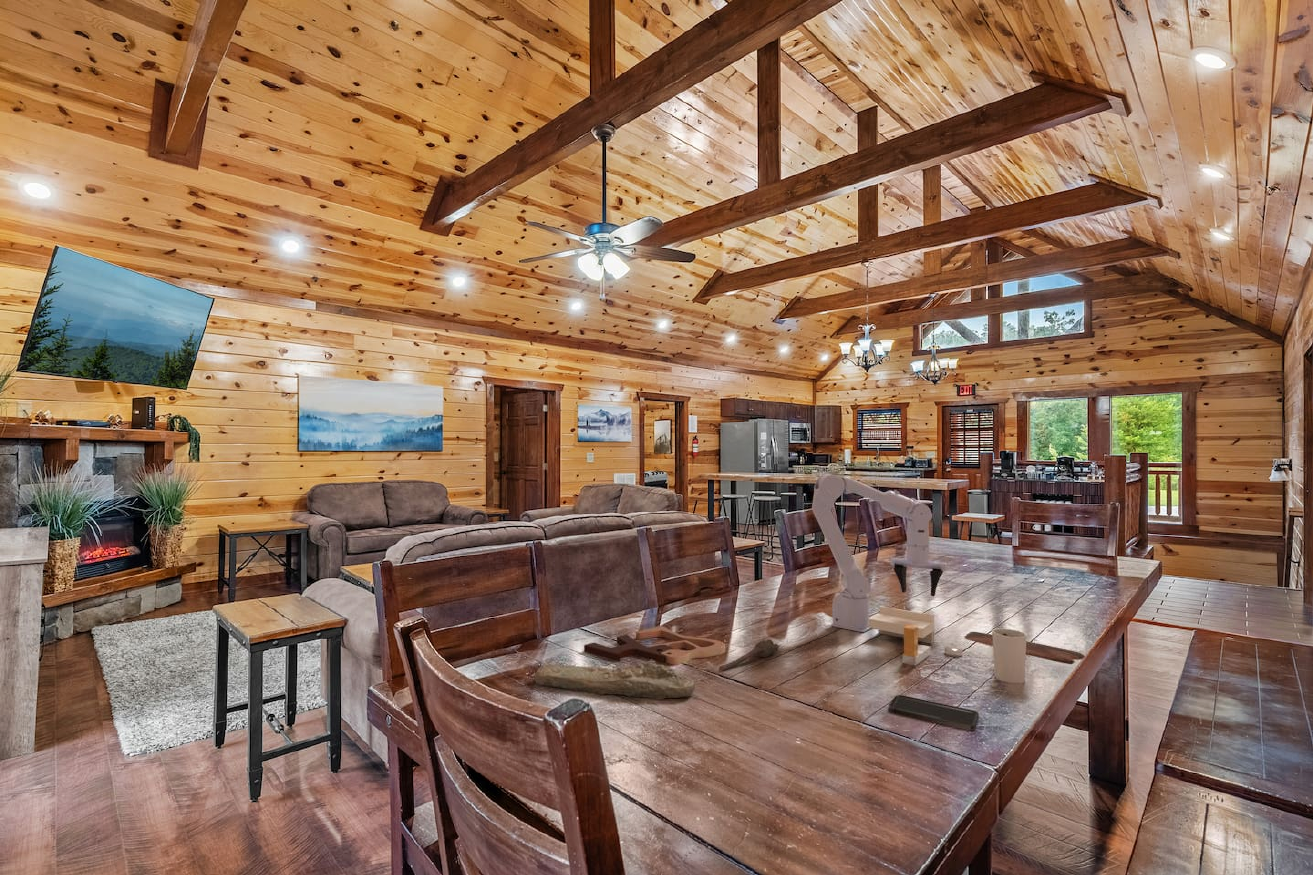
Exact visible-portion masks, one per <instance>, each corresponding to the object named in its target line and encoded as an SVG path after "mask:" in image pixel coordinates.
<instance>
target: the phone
mask: <svg viewBox="0 0 1313 875" xmlns="http://www.w3.org/2000/svg"><path fill="white" fill-rule="evenodd" d="M888 712H890V713H893V714H896V715H902V716H905V717H909V718H914V719H918V720H922V721H927V722H932V723H937V724H941V725H944V726H949V727H953V728H958V729H962V730H966V731H974V730H976V728H977V725H978V722H979V719H980V718H979V717H980V713H979V711H976V710H972V709H968V708H967V709H966V708H963V707H958V706H954V705H949V704H945V703H940V702H936V701H932V700H931V701H929V700H925V699H921V698H916V697H912V696H906V695H902V694H895V696H894V697H893V699H892V700H891V702H890V703H889V705H888Z"/></svg>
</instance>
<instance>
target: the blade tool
mask: <svg viewBox="0 0 1313 875" xmlns="http://www.w3.org/2000/svg"><path fill="white" fill-rule="evenodd" d="M931 648H932V647H931V646H929V645H924V644H920V643H919V641H918V627H914V626H909V625H907V626H905V627H904V638H903V654H902V664H906V665H910V666H915V667H916V666H918V665H919V664H921V663H922V662H923V661H925V659H927V658H928V657H929V656H931V654H932V653H931V652H932V650H931Z"/></svg>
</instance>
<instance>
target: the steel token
mask: <svg viewBox="0 0 1313 875" xmlns="http://www.w3.org/2000/svg"><path fill="white" fill-rule="evenodd" d="M963 654H964V653H963V649H962V648H961V647H957V646H953V645H951V646H949V645H947V646H944V655H947V656H948V657H953V658H954V657H957V658H958V657H961V658H962V657H963V656H964V655H963Z"/></svg>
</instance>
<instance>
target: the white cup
mask: <svg viewBox="0 0 1313 875" xmlns="http://www.w3.org/2000/svg"><path fill="white" fill-rule="evenodd" d="M991 633H992V634H991V635H992V636H993V646H992V651H993V665H994V666H993V667H994V677H995V679H996V680H999V681H1002V682H1005V683H1008V684H1023V683H1025V682H1026V681H1025V679H1026V678H1025V677H1026V658H1027V657H1026V656H1027V654H1026V641H1027V634H1026V633H1025V632H1023V631H1020V630H1016V629H1011V628H994V629H992V632H991Z"/></svg>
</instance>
